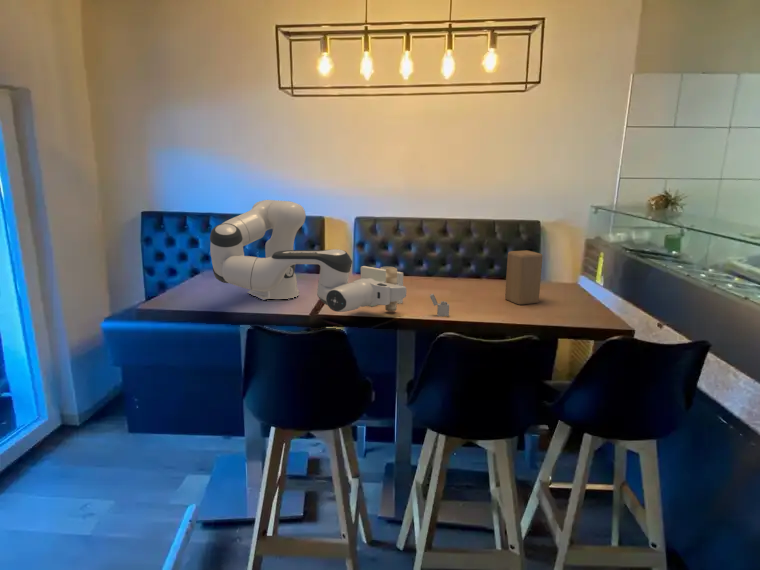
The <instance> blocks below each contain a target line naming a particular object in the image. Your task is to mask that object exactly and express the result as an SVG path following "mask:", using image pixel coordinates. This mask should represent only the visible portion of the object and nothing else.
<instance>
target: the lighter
mask: <svg viewBox="0 0 760 570" xmlns="http://www.w3.org/2000/svg"><path fill="white" fill-rule="evenodd" d="M429 298H430V299H431V302H432V304H433V306H434V307H435V306H437V310H436V312H437V314H436V316H437V317H444V316H449V317H450V304H449V303H448V302H447V301H445V300H444V301H440V303H438V300H437V298H436V296H435V294H434V293H431V294H429Z"/></svg>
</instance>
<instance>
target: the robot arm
mask: <svg viewBox="0 0 760 570" xmlns="http://www.w3.org/2000/svg"><path fill="white" fill-rule="evenodd" d="M305 222H306V211H305V209H304V207H303V206H302V205H301V204H300V203H299V204H298V203H296V202H295V201H289V200H288V201H287V200H275V199H274V200H273V199H264V200H259V201H257V202H255V203H254V204H253V206H252V208H251V209H249V211H246V212H244V213H241V214H240V215H236V216H234V217H232V218H230V219H229V218H228V220H225V221H224V222H222V223H220V224H217V225H216V226H214V227H213V228H212V229H211V231H210V235H209V241H210V246H209V247H210V252H209V253H210V257H211V264H212V272H213V274H214V278H216V279H217V280H218V281H219V282H222V283H223V284H224V283H225V284H229V285H234V286H236V287H239V288H243V289H247V290H248V291H247V293H250V294H252V295H255V296H257V297H259V298H262V299H288V298H293V299H295V298H294V297H296V298H298V297H299V296H300V295H299V294H300V289H298V282H297V275H296V273H295V271H296V265H319V266H320V267H319V277H318V284H317V291H316V293H317V294H316V295H317V297H318V298H319V299H320V301H321V302H322V303H323V304H325V305H326V306H327V307H328V308H329V309H330V310H332V311H333V312H337V313H338V312H339V313H343V312H345V313H346V312H351V311H355V310H357V309H359V308H361V307H367V306H368V305H376V306H385V305H389V304H390V302H394V301H398V300H401V299H403V300H404V299H405V298H406V297H407V287H406V286H405V285H403V286H400V284H397V283H396V284H390V283H386V281H383V282H380V281H375V280H374V279H371V278H367V279H361V278H359V279H356V280H353V281H352V282H349V276H350V272H351V268H352V264H353V260H352V258H351V256H350V255H349V254H348V252H347V251H346V250H342V249H339V248H338V249H334V248H333V249H322V250H321V249H320V250H317V249H315V250H313V249H312V250H309V249H304V250H302V249H295V250H294V243H295V238H296V236H297V232H298V231H299V229H300V228H301V227H302V226H303V225H304V224H305ZM269 230H272V233H271V237H270V238H269V239H268V240H267V241H266V242H265V245H264V248H265V249H264V251H265V257H258V256H252V255H251V256H250V255H245V252H244V247H245V246H249V244H252V243H253V242H255V241H258V240H260V239H262V238H264V236H265V234H266V232H267V231H269ZM298 295H299V296H298ZM297 296H298V297H297ZM288 300H289V299H288ZM368 307H369V306H368Z"/></svg>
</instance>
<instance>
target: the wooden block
mask: <svg viewBox="0 0 760 570" xmlns="http://www.w3.org/2000/svg"><path fill="white" fill-rule="evenodd" d="M543 257H544V256H543V254H542V253H539V252H535V251H532V250H525V249H524V250H511V251H508V253H507V263H506V277H505V292H504V298H505V300H507V301H508V302H511V303H513V304H517V305H519V306H521V305H530V304H537V303H539V302H540V292H541V291H540V290H541V280H542V279H541V278H542V265H543Z"/></svg>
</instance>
